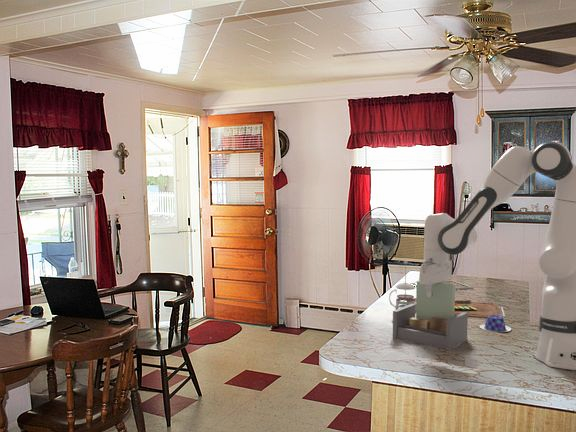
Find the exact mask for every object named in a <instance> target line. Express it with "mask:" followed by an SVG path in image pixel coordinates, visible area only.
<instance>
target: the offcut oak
mask: <svg viewBox="0 0 576 432" xmlns="http://www.w3.org/2000/svg"><path fill="white" fill-rule="evenodd" d="M410 326H414V327H419V328H425V329H430V320H425V319H419V318H416V317H415V318H413V317H412V318H410Z"/></svg>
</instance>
